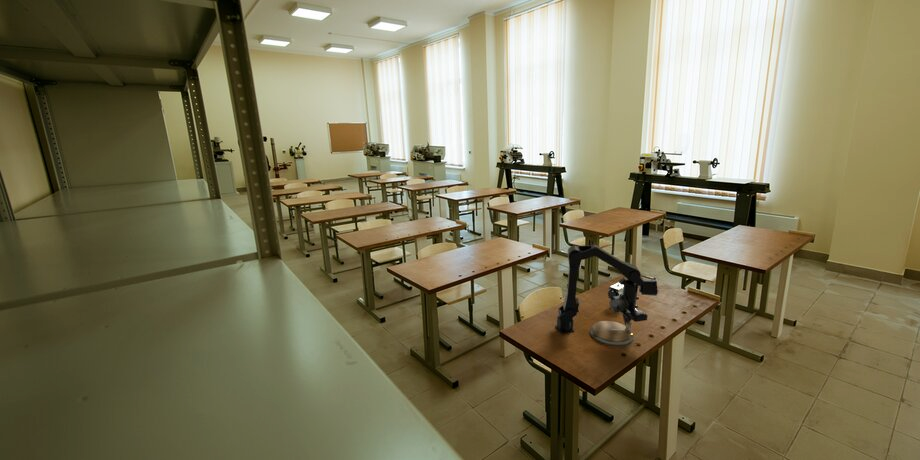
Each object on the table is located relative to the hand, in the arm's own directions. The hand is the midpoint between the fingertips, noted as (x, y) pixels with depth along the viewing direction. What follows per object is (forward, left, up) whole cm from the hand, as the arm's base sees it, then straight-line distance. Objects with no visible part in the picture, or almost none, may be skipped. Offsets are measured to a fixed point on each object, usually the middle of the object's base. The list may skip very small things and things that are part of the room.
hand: (626, 325), depth 173 cm
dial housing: (-7, +1, -4) cm, 8 cm away
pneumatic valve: (+14, +24, -4) cm, 28 cm away
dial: (-7, +1, -3) cm, 7 cm away
